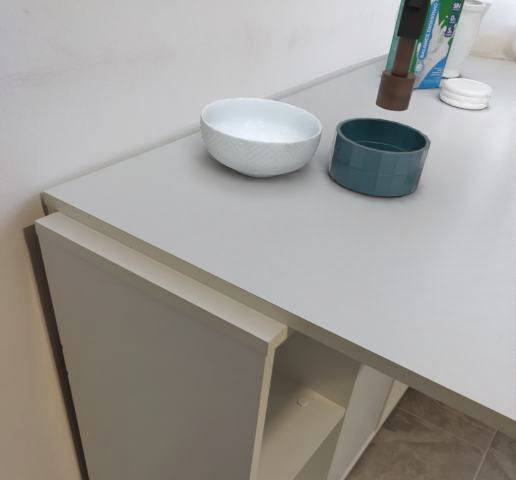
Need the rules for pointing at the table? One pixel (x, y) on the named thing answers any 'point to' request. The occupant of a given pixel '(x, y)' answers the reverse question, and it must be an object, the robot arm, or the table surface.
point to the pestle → (398, 79)
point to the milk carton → (431, 42)
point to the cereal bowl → (259, 135)
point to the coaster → (465, 93)
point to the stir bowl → (378, 156)
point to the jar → (464, 37)
